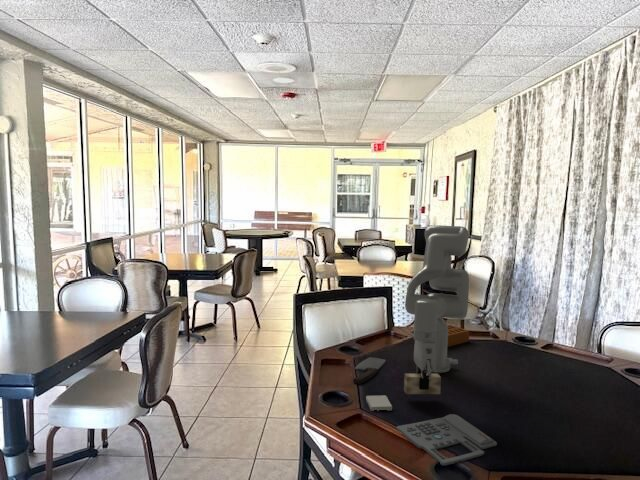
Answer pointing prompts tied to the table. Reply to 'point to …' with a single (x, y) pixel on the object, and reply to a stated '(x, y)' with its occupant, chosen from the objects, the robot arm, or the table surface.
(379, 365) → the cleaver
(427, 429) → the office telephone
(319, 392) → the table surface
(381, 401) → the tile
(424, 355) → the robot arm
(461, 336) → the brick
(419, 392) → the tan wooden block
